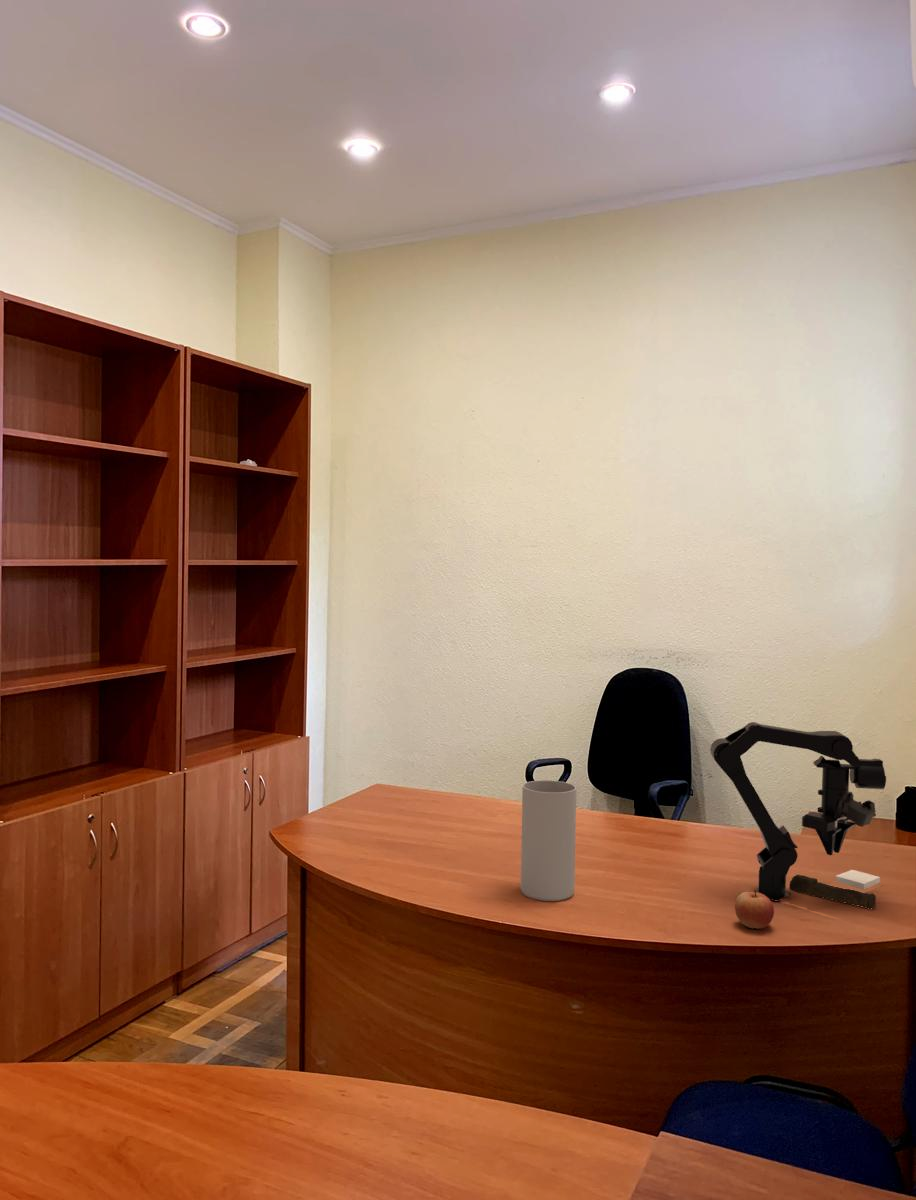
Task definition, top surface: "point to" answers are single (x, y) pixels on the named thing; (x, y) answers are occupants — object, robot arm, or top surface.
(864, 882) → the tile
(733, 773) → the robot arm
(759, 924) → the apple
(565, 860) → the cylinder vase
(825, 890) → the hand tool
